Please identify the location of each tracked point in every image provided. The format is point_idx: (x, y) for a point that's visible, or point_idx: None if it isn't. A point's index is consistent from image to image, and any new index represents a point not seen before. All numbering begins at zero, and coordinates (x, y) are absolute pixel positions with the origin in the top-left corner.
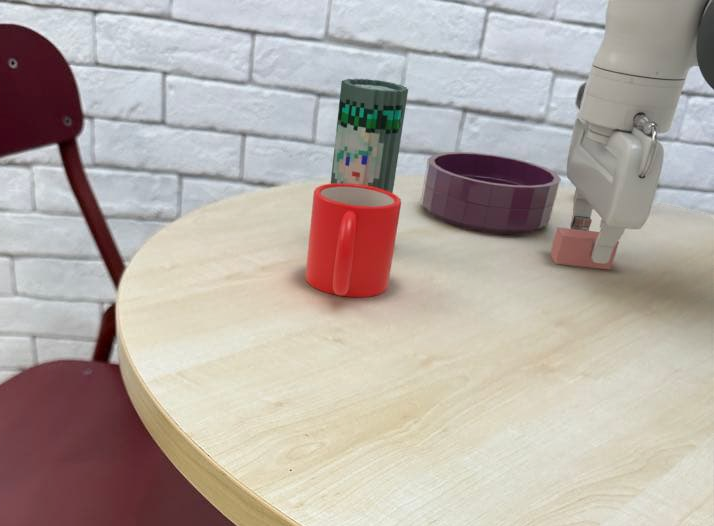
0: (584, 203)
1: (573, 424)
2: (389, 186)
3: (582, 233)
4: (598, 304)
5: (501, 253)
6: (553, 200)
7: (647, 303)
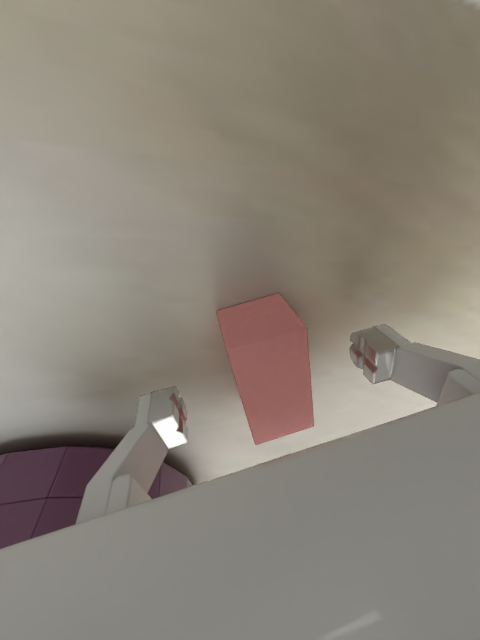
0: (136, 475)
1: None
2: None
3: (275, 404)
4: (470, 301)
5: (274, 443)
6: (48, 509)
7: (469, 210)
